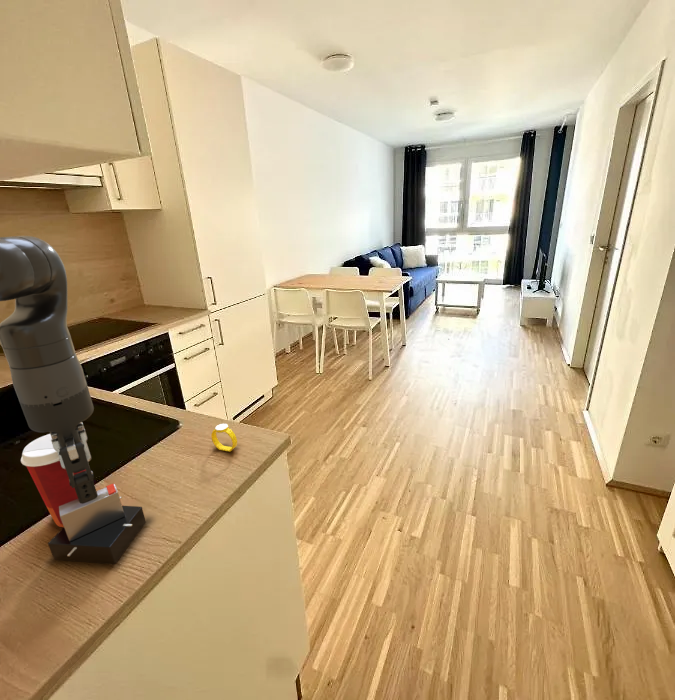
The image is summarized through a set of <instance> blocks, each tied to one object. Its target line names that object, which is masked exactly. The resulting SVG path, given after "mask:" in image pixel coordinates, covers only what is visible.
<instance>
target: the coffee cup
mask: <svg viewBox="0 0 675 700" xmlns="http://www.w3.org/2000/svg"><path fill="white" fill-rule="evenodd" d="M51 439H52V438H51V434H50V433H47V434H46V435H42V436H40V437H37V438H36V439H34V440H32V441H31V442H29V443H28V444H27V445H26V446H25V447H24V448H23V450H22V453H21V458H20V463H21V464H22V466H25V467H26V469H27V471H28V472H29V474H30V477H31V479H32V481H33V483H34V485H35V487H36V489H37V491H38V493H39V495H40V497H41V499H42V501H43V503H44V505H45V506H46V509H47V510H48V513H49V514H50V516H51V518H52V520H53V522H54V524H55V525H56V526H57V527H59V528H64V526H63V523H62V520H61V518H60V512H59V506H61V505H64V504H66V503H69V502H71V501H73V500H76V499H78V497H77V494H76V491H75V488H72V486H70V484H69V483H70V481H69V477H68V474H67V471H66V469H63V468H62V467H61V463H60V460H59V457H58V453H57V451H55V450H54V448H53V445H52V441H51ZM83 471H86V470H83ZM83 471H80V472H83ZM80 472H78V473H80ZM78 473H73V474H74V475H75V474H78Z"/></svg>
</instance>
